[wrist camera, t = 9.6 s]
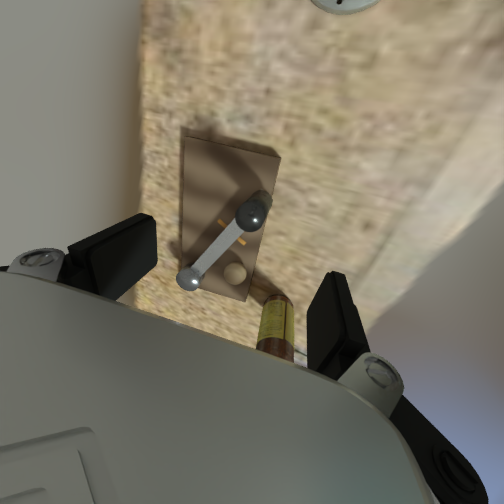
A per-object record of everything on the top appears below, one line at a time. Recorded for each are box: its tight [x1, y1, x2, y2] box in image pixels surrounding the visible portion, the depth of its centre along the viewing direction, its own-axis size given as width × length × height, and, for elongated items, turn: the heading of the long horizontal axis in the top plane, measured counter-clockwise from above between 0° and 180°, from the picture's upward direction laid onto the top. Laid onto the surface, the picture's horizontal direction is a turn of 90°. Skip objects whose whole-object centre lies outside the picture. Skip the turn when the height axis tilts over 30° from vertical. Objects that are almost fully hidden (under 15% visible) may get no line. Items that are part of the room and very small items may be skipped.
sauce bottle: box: [256, 295, 294, 363], centre depth 33 cm, size 7×6×20 cm
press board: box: [181, 136, 281, 302], centre depth 34 cm, size 27×14×6 cm, turn 168°
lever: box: [176, 189, 273, 291], centre depth 31 cm, size 24×4×10 cm, turn 139°
